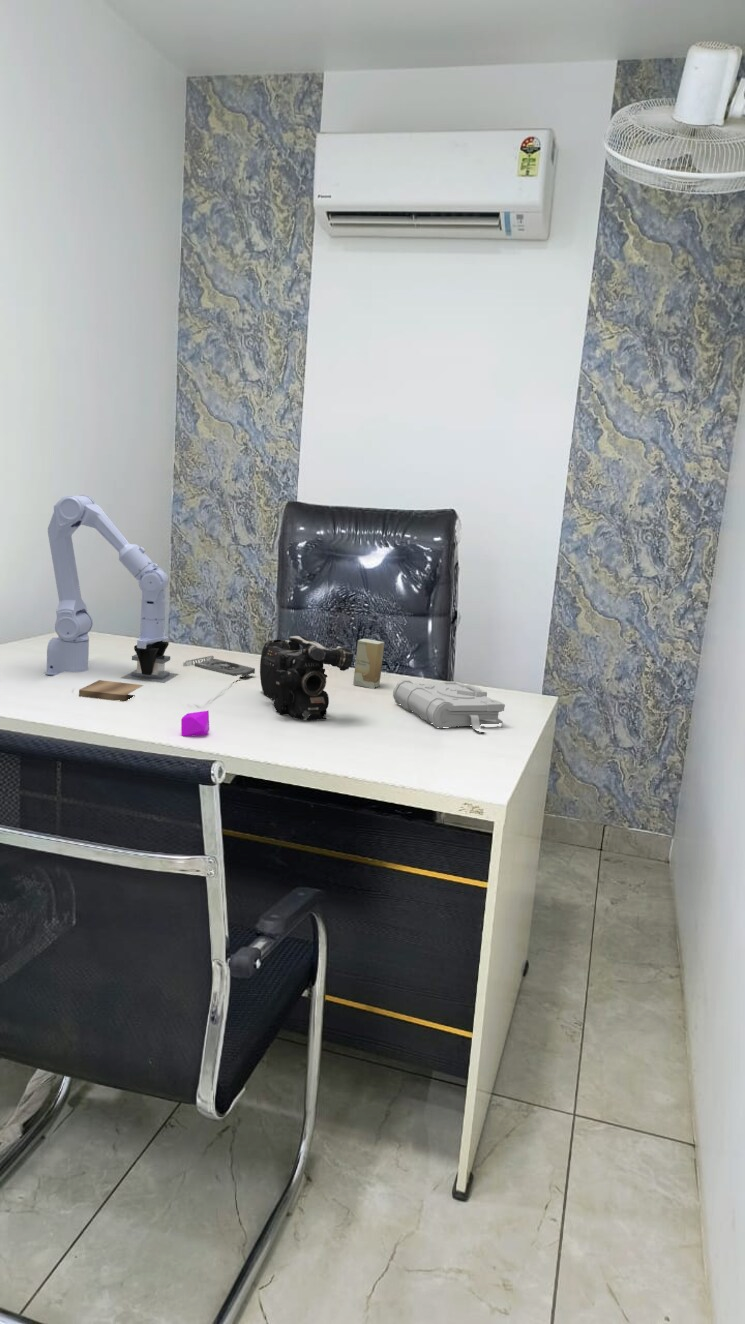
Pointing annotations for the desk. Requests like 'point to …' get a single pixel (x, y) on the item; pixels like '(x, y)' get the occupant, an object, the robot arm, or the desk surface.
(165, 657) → the block
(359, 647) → the skincare box
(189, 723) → the crystal
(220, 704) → the desk surface
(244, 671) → the graphics card
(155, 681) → the stand
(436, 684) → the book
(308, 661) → the movie camera
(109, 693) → the stand
